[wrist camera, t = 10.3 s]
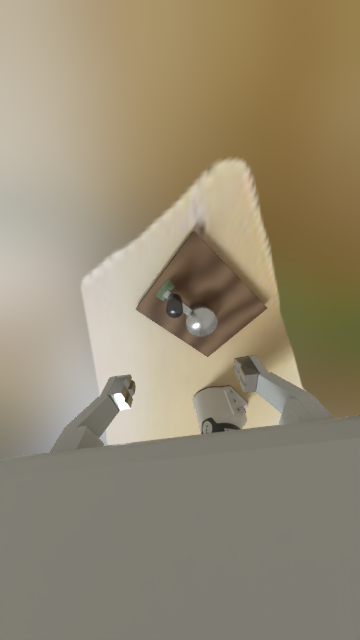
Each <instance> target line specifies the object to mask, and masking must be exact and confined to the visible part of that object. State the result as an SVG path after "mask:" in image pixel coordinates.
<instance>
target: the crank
mask: <svg viewBox="0 0 360 640" xmlns="http://www.w3.org/2000/svg"><path fill="white" fill-rule="evenodd" d="M163 296H164V297H165V298H166V299H167V306H166V313H167V315H168V316H170V317H172V318H178V317H180V316H181V315H182V313H183V312H184V313H185V314H186V316H185V319H186V327H187V330H188V331H189V332H190V333H191V334H192V335H194V336H198V337H203V336H207V335H209V334H211V333H212V332H213V331H214V330H215V329H216V327H217V324H218V320H217V317H216V315H215V313H214V311H213V310H212V308H211V307H209V306H208V305H205V304H198V305H194V306H192V307H190V306H189V305H187V304H186V303H185V302H184V301H183V300H182V298H181V296H180V295H178V294H174V293H173V292H172V291H171V290H170V289H167V290H166V291H165V292H164V293H163Z"/></svg>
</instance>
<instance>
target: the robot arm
mask: <svg viewBox="0 0 360 640" xmlns="http://www.w3.org/2000/svg"><path fill="white" fill-rule="evenodd" d="M234 363H235V366H234V372H235V375H236V378H237V379H238V380H239V381H240V386H241V388H242V390H243V393H248V392H256V393H258V394H259V395H260V396H261V397H262V398H264V399H265V400H266V401H267V402H268V403H270V404H271V405H272V406H273V407H274V408H276V409H277V410H278V411H279V412H280V413H282V415H281V418H280V421H279V424H280V425H274V426H266V427H258V428H249V429H242V428H243V426H244V425H245V423H246V421H247V417H246V414H245V413H246V410H245V409H246V408H247V407H248V403H247V402H246V401H245V400H244V399H243V398H242V397H241V396H240V395H239V394H238V393H237V392H236V391H235V390H234V389H233V388H232V387H231V386H226V387H213V388H207V389H204V390H202V391H200V392H198V393H197V394H196V395H195V397H194V399H193V402H194V405H195V407H194V411H195V412H196V414H197V419H198V423H199V428H200V431H201V434H199V435H191V436H183V437H174V438H166V439H158V440H150V441H141V442H133V443H125V444H117V445H108V446H103V445H104V443H103V442H102V441H101V440H100V439H99V437H100V436H101V435H102V433H103V432H104V431H105V429H106V428H107V427H108V425H109V424H110V423H111V421H112V420H113V419H114V417H115V416H116V415H117V413H118V412H119V410H124V409H129V408H131V404H132V401H133V399H132V396H133V395H134V394H135V387H136V386H135V382H134V381H133V380H131V379H132V377H131V375H121V376H114V377H110V378H109V380H108V382H107V384H106V386H105V388H104V390H103V392H102V394H101V396H100V397H98V398H97V399H95V400H94V401H93V402H92V403H91V404H90V405H89V406H88V407H87V408H86V409H84V410H83V412H81V413H80V414H79V415H78V416H77V417H76V418H75V419H74V420H72V421H71V422H70V423H69V424H68V425H67V426H66V427H65V428H64V430H63V431H62V433H61V435H60V436H59V438H58V439H57V441H56V443H55V444H54V446H53V448H52V449H51V451H50V453H42V454H33V455H25V456H17V457H8V458H1V459H0V640H360V415H357V416H349V417H342V418H333V417H332V416H331V414H330V413H329V412H328V411H327V410H326V409H325V408H324V407H323V406H322V405H321V404H320V403H319V401H318V400H317V399H316V398H315V397H314V396H313V395H312V394H310V393H308V392H306V391H304V390H302V389H301V388H299V387H297V386H295V385H293V384H292V383H290V382H288V381H286V380H284V379H282V378H281V377H279V376H277V375H275V374H273V373H272V372H270V373H269V372H268V371H267V369H266V368H265V367H264V365H263V364H262V363H261V361H260V360H259V359H258V357H257V356H256V355H252V356H246V357H240V358H235V359H234Z"/></svg>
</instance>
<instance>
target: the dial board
mask: <svg viewBox="0 0 360 640" xmlns="http://www.w3.org/2000/svg"><path fill="white" fill-rule="evenodd" d="M167 289H170V290H171V291H172V292H173V293H174V294H178V295H180V296H181V298H182V300H183V301H184V302H185V303H186V304H187V305H189V306H190V307H192V306H194V305H198V304H205V305H208V306H209V307H211V308H212V310H213V311H214V313H215V315H216V317H217V320H218V324H217V327H216V329H215V330H214V331H213V332H212V333H211V334H209V335H207V336H203V337H198V336H194V335H192V334H191V333H190V332H189V331H188V330H187V327H186V319H185V316H186V314H185V313H184V312H183V313H182V315H181V316H180V317H178V318H172V317H170V316H168V315H167V313H166V306H167V299H166V298H165V297H164V296H163V293H164V292H165V291H166V290H167ZM266 309H267V307H266V306H265V305H264V304H263V303H262V302H261V301H260V300H259V299H258V298H257V297H256V296H255V295H254V294H253V292H252V291H251V290H250V289H249V288H248V287H247V286H246V285H245V284H244V283H243V282H242V281H241V280H240V279H239V278H238V277H237V276H236V275H235V274H234V273H233V272H232V271H231V269H230V268H229V267H228V266H227V265H226V264H225V263H224V262H223V261H222V260H221V259H220V258H219V257H218V256H217V255H216V254H215V253H214V252H213V251H212V250H211V249H210V248H209V246H208V245H207V244H206V243H205V242H204V241H203V240H202V239H201V238H200V237H199V236H198V235H197V234H196V233H195V232H193V233H192V234H191V235H190V237H189V238H188V239H187V241H186V242H185V243H184V245H183V246H182V247H181V249H180V250H179V251H178V253H177V254H176V255H175V257H174V258H173V259H172V261H171V262H170V263H169V265H168V266H167V268H166V269H165V270H164V272H163V273H162V274H161V276H160V277H159V278H158V280H157V281H156V282H155V284H154V285H153V286H152V288H151V289H150V290H149V292H148V293H147V294H146V296H145V297H144V299H143V300H142V301H141V303H140V304H139V305H138V307H137V308H136V310H137V311H139V312H140V313H142V314H143V315H145V316H146V317H148V318H149V319H151V320H152V321H154V322H155V323H157V324H158V325H160V326H161V327H163V328H164V329H166V330H168V331H169V332H171V333H172V334H174V335H175V336H177V337H178V338H180V339H181V340H183V341H184V342H186V343H187V344H189V345H190V346H192V347H193V348H195V349H196V350H198V351H199V352H201V353H203V354H204V355H206V356H207V357H208V356H210V355H211V354H212V353H213V352H214V351H216V350H217V349H218V348H219V347H221V346H222V345H223V344H224V343H225V342H227V341H228V340H229V339H230V338H232V337H233V336H234V335H235V334H236V333H238V332H239V331H240V330H241V329H242V328H244V327H245V326H246V325H247V324H249V323H250V322H251V321H252V320H253V319H255V318H256V317H257V316H258V315H260V314H261V313H262V312H263V311H264V310H266Z"/></svg>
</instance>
